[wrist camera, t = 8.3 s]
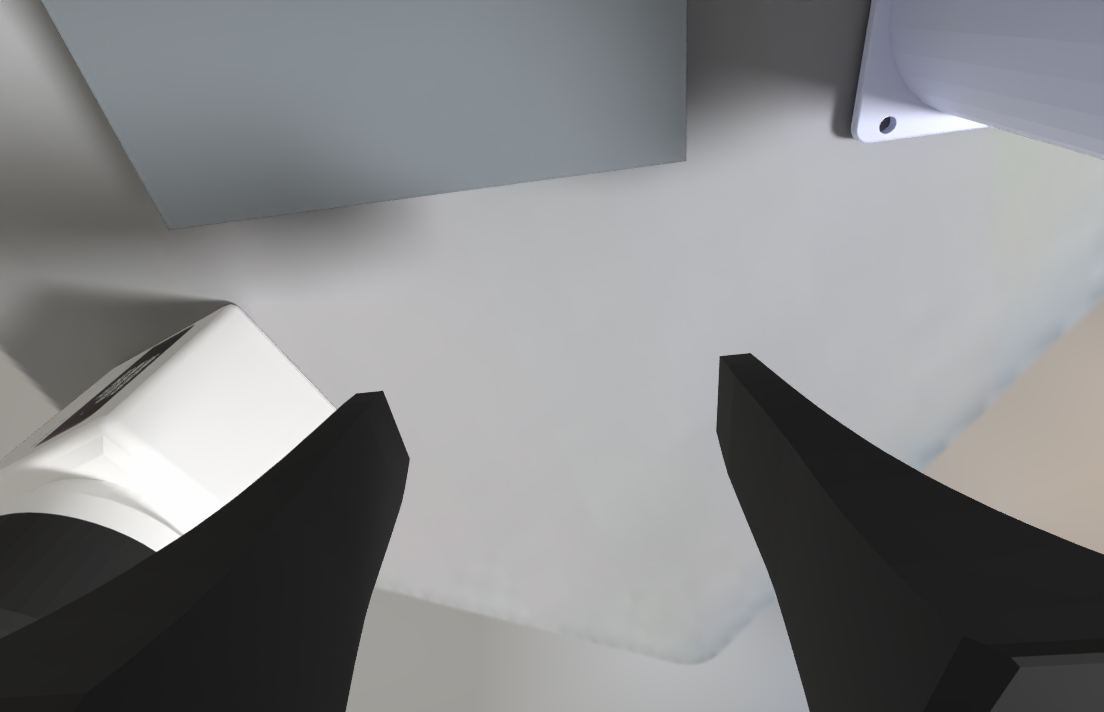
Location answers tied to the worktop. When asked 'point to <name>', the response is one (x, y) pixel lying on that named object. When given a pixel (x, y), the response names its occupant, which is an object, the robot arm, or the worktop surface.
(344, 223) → the worktop surface
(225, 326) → the container
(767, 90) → the worktop surface
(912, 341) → the worktop surface
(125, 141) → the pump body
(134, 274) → the worktop surface
